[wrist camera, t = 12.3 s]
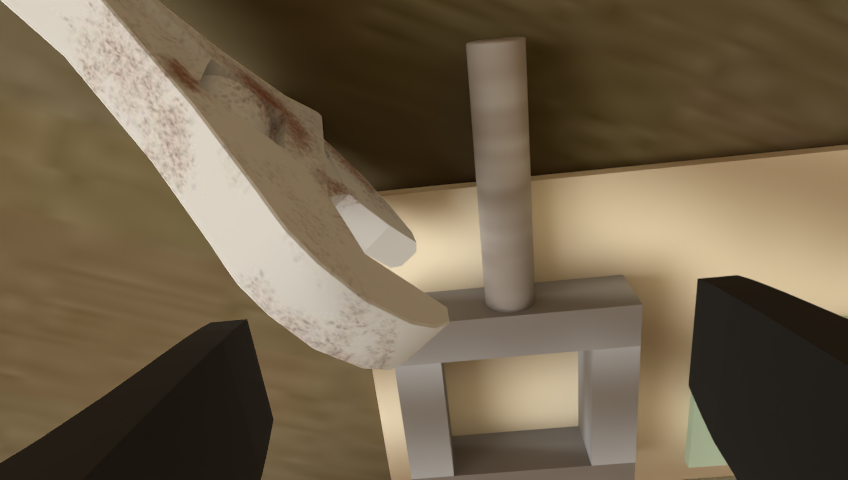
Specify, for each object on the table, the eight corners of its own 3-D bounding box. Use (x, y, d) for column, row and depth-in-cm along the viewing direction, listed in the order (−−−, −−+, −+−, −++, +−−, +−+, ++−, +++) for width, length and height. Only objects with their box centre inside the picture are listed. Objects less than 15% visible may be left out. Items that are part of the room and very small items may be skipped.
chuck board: (869, 455, 24) (917, 506, 21) (395, 490, 24) (391, 543, 22) (989, -20, 17) (1078, -20, 14) (321, 54, 18) (305, 65, 15)
